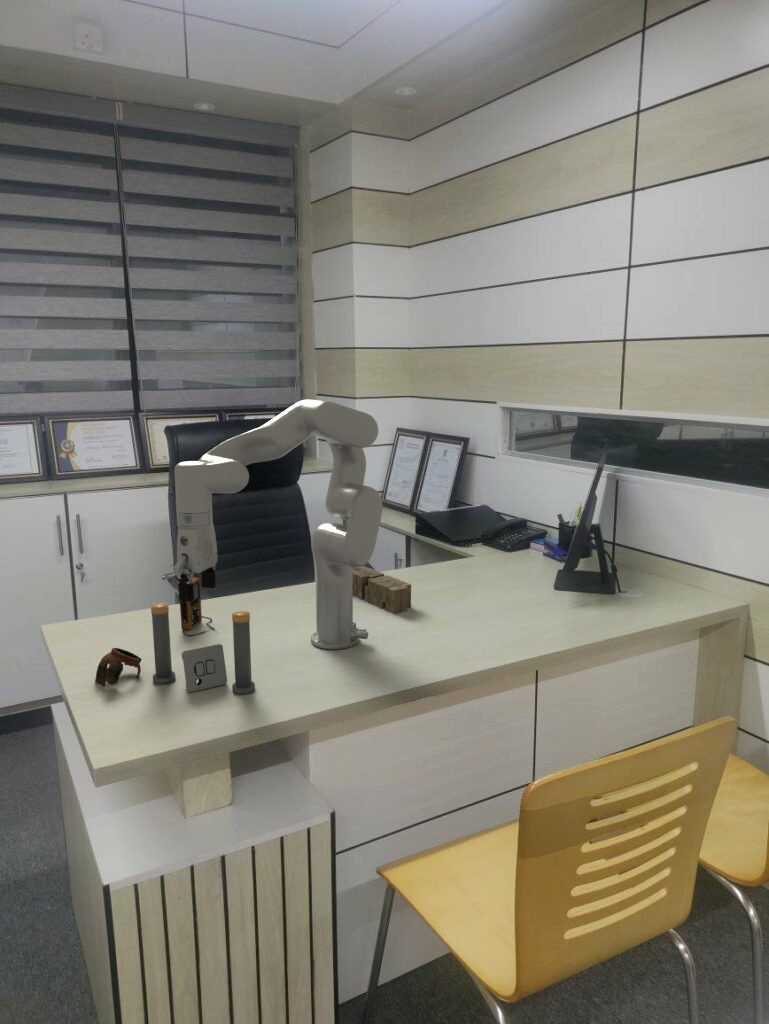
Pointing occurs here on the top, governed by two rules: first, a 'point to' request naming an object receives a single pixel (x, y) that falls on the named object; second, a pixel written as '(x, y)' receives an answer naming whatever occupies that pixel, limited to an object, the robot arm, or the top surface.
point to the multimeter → (192, 610)
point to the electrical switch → (204, 667)
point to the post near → (242, 654)
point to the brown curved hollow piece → (115, 666)
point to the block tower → (381, 590)
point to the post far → (162, 644)
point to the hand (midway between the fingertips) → (198, 593)
